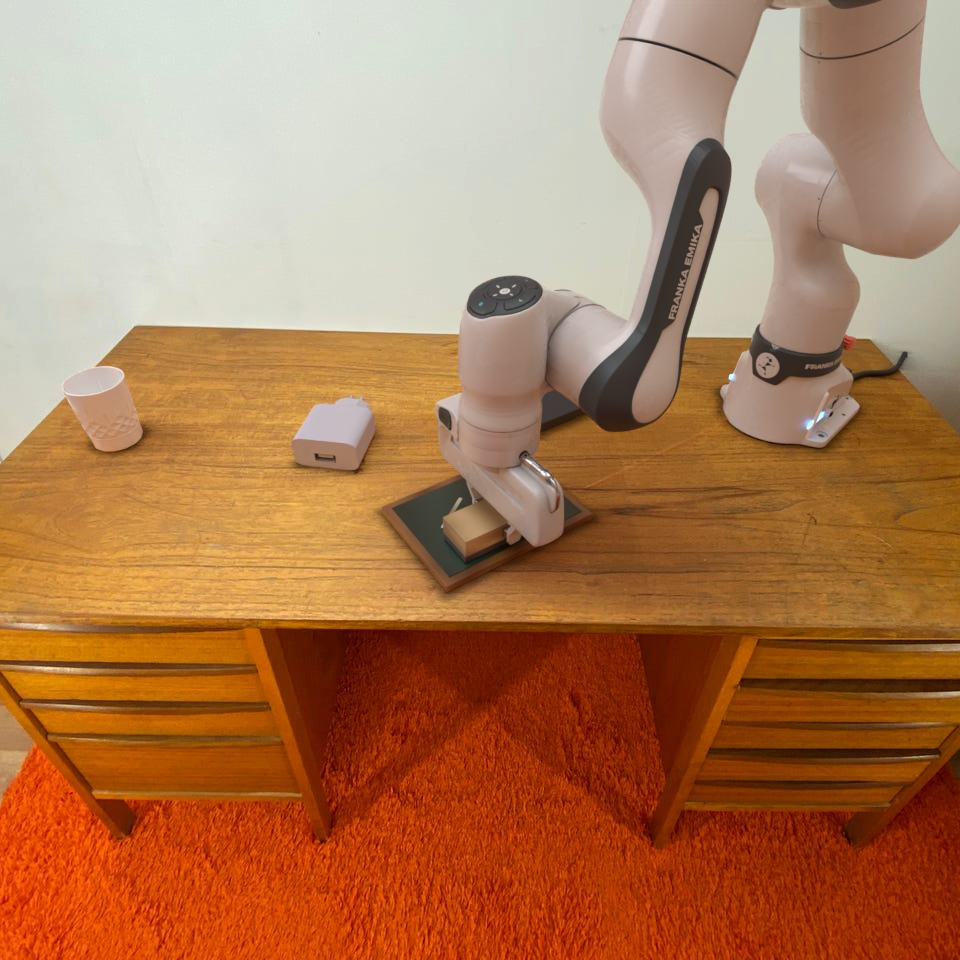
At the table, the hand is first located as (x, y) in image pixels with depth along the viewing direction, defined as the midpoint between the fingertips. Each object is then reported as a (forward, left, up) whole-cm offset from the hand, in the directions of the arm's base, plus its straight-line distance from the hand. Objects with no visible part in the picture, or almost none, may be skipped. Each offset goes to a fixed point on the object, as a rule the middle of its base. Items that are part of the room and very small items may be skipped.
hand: (495, 523), depth 78 cm
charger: (+7, -30, -3) cm, 31 cm away
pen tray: (-25, -21, -3) cm, 33 cm away
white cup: (+35, -48, -3) cm, 59 cm away
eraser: (0, 0, -1) cm, 1 cm away
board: (-1, -4, -3) cm, 5 cm away
